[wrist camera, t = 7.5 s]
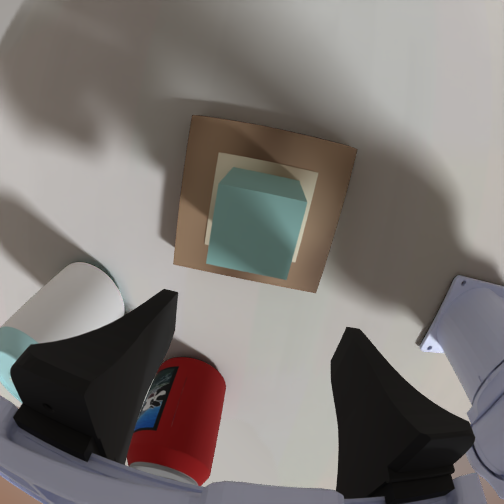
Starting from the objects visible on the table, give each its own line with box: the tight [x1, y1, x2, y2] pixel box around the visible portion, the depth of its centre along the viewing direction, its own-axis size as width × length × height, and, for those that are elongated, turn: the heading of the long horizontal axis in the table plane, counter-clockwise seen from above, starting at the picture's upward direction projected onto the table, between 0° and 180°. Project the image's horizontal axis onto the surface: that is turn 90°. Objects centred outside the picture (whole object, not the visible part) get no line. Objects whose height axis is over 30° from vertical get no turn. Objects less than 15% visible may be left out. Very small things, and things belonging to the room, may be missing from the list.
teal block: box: [206, 167, 307, 280], centre depth 17 cm, size 4×4×5 cm
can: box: [0, 262, 124, 404], centre depth 20 cm, size 7×7×12 cm
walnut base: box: [173, 115, 357, 293], centre depth 20 cm, size 10×10×2 cm
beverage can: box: [127, 357, 226, 486], centre depth 23 cm, size 7×7×12 cm
